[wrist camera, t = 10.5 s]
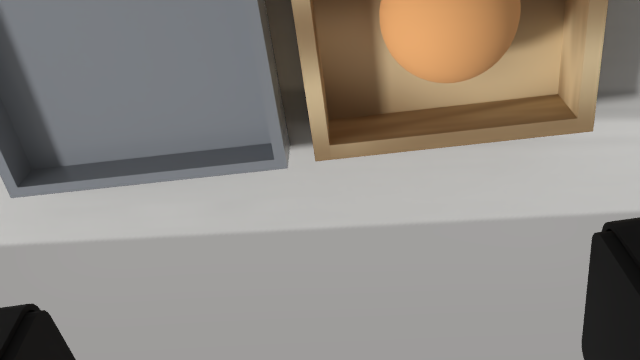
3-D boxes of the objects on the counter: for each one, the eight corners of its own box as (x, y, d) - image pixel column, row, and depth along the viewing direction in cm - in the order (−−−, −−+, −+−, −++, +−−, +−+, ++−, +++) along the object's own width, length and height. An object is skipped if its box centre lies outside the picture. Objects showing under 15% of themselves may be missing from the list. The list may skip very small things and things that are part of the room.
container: (-97, -114, 27) (-133, -108, 25) (235, -164, 26) (227, -161, 24) (29, 174, 35) (11, 198, 33) (289, 145, 34) (287, 168, 32)
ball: (369, -64, 28) (379, -32, 23) (503, -81, 27) (543, -53, 22) (379, 61, 31) (389, 113, 26) (499, 46, 30) (534, 97, 25)
